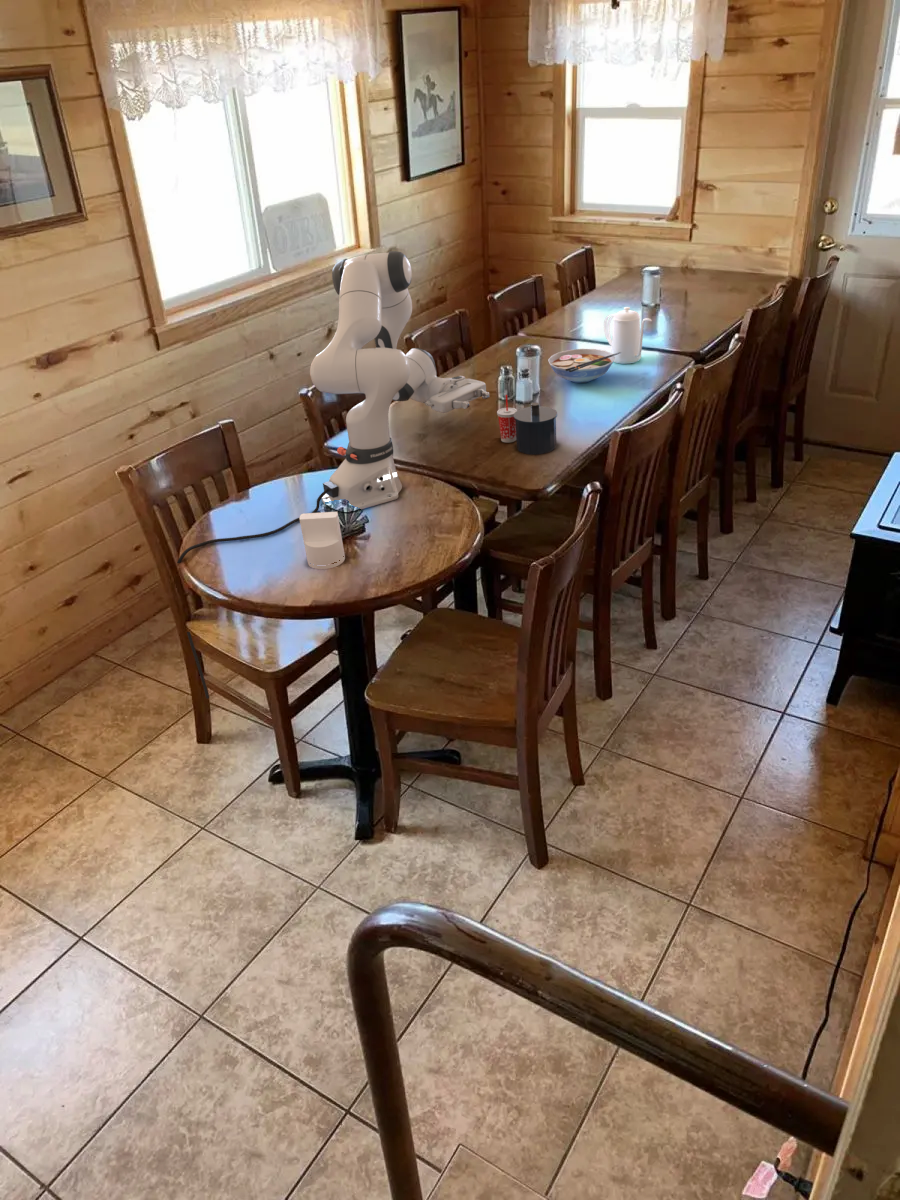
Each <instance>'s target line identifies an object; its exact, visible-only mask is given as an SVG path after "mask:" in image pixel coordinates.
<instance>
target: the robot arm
mask: <svg viewBox="0 0 900 1200" xmlns="http://www.w3.org/2000/svg"><path fill="white" fill-rule="evenodd" d="M331 270H332V271H331V280H332V285H333V288H334V291H335V293H336V294H337V295H338V296H339V297H338V298H339V300H338V320H337V327H336V331H335V333H334V336H333V338H332V339H331V341H330V342H329V344H327V346H326V347H325V348H324V349H323V350H322V351H321V352H319V353H317V354H316V355H315V356H314V358H313V359H312V361H311V364H310V367H309V375H310V379H311V382H312V384H313V386H314V387H315V389H317V390H318V391H319V392H321V393H326V394H333V395H347V394H364V395H365V399H364V400H362V401H361V402H359V403H357V404H356V405H354V406H353V407H351V409H349V410H348V412H347V414H346V415H345V416H346V418H345V423H346V430H347V437H348V444H347V448H345V447H343V446H339V447H338V448H337V449H336V450H337V451H336V452H337V454H338V455H340V456H342V457H343V456H345V459H344V460H343V461H342V462H341V463H340V464H339V466H338V467H337V468H336V469H335V471H334V472H333V473H331V475H330V477H329V479H328V481H325V482H323V483H322V487H323V488H322V489H323V491H322V493H320V494H319V495H318V497H317V499H316V507H315V509H314V510H313V511H312V512H311V513H318V511H319V509H320V506H321V505H320V504H321V502H322V503H323V505H325V502H329V501H334V500H340V499H346V500H348V501H349V503H350V504H351V505H353V506H355V507H358V508H360V509H361V510H364V509H367V508H371V507H374V506H378V505H381V504H385V503H388V502H392V501H395V500H397V499H399V493H400V492H401V491H402V489H403V484H402V482H401V480H400V478H399V477H400V476H399V474H398V472H397V468H396V464H395V460H394V444H393V439H392V437H391V435H390V423H389V422H390V421H389V413H390V407H391V404H392V401H395V402H407V401H409V400H412V401H414V402H417V403H421V404H424V405H425V406H427V407H430V409H431V410H432V411H435V412H438V413H442V414H447V413H449V412H451V411H453V410H457V409H464V410H466V409H469V408H470V407H471V405H470V402H473V401H474V400H477V399H478V398H479V399H480V398H482V399H483V400H488V399H489V398H490V396H491V395H490V392H489V391H487V385H486V383H485V382H484V381H481V380H477V379H473V378H466V377H465V376H463V375H457V376H452V377H444V378H443V377H438V376H437V375H438V372H437V367H436V363H435V359H434V357H433V355H432V354H431V353H430V352H428V351H427V350H425V349H422V348H419V347H413V348H411V349H410V350H409V351H408V352H407V353H406V354H405V353H404V352H403V350H401V349H397V346H398V342H399V339H400V337H401V334H402V332H403V331H404V329H405V327H406V326H407V324H408V322H409V321H410V319H411V317H412V313H413V300H412V297H411V293H410V291H409V287H410V285H411V283H412V276H413V272H412V266H411V263H410V261H409V258H408V257H407V255H405V254H404V253H403V252H401V251H398V250H397V251H396V250H390V251H389V252H377V253H366V254H361V255H357V256H354V257H351V258H344V259H341V260H339V261H337V262H336V263H335V264H334V266H333V268H332V269H331ZM373 340H374V344H375V347H368V348H363V347H364V346H366V345H367V344H368V343H371V342H372V341H373ZM299 518H300V517H297V518H295V519H293V520H291V521H289V522H287V523H286V524H284V525H282V526H280V527H278V528H276V529H273V530H270V531H267V532H263V533H257V534H250V535H242V536H234V537H223V538H213V539H210V540H209V539H208V540H206V541H203V542H200V543H196V544H193V545H191V546H189V547H187V548H186V549H185V550H184V551H183V552H182V553H181V555H180V556H179V558H178V559H177V561H176V562H177V564H180V563H182V561H183V559H184V558H185V556H186V555H187V554H188V553H189V552H191V551H192V550H195V549H197V548H200V547H201V548H202V547H203V546H207V545H210V544H214V543H220V542H221V543H222V542H233V541H241V540H248V539H255V538H256V539H258V538H263V537H267V536H271V535H274V534H277V533H279V532H281V531H283V530H285V529H287V528H288V527H290V526H292V525H293V524H295V523H298V522H300V519H299ZM186 634H187V638H188V642H189V644H190V648H191V651H192V654H193V657H194V661H195V664H196V667H197V671H198V673H199V678H200V680H201V684H202V688H203V690H204V694H205V699H207V700H208V699H210V695H209V690H208V687H207V683H206V680H205V677H204V673H203V669H202V667H201V664H200V660H199V657H198V654H197V651H196V648H195V644H194V641H193V638H192V635H191V631H186Z"/></svg>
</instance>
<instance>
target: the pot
mask: <svg viewBox="0 0 900 1200" xmlns="http://www.w3.org/2000/svg"><path fill="white" fill-rule="evenodd" d="M515 421H516V420H515ZM515 443H516V449H517V451H518V452H520V453H522V454H526V455H543V454H544V455H545V454H549V453H550V452H552V451H554V450H556V448H557V417H556V418H555V419H554V420H552V421H549V422H546V423H540V424H525V423H520V422H518V421H516V441H515Z"/></svg>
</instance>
